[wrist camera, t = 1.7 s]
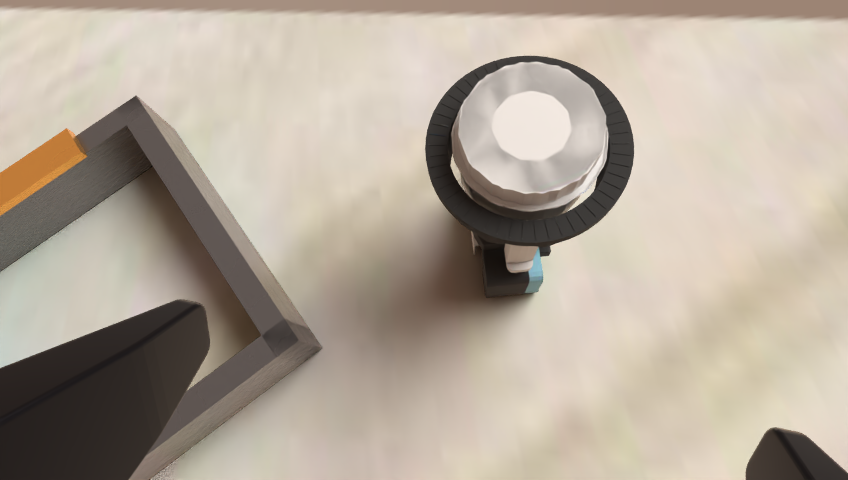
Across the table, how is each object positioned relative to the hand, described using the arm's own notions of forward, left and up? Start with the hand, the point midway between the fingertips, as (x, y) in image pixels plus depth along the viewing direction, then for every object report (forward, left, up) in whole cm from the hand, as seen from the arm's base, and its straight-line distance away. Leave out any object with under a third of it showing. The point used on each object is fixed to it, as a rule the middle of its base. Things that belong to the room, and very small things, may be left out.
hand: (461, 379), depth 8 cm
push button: (+1, -7, -13) cm, 15 cm away
